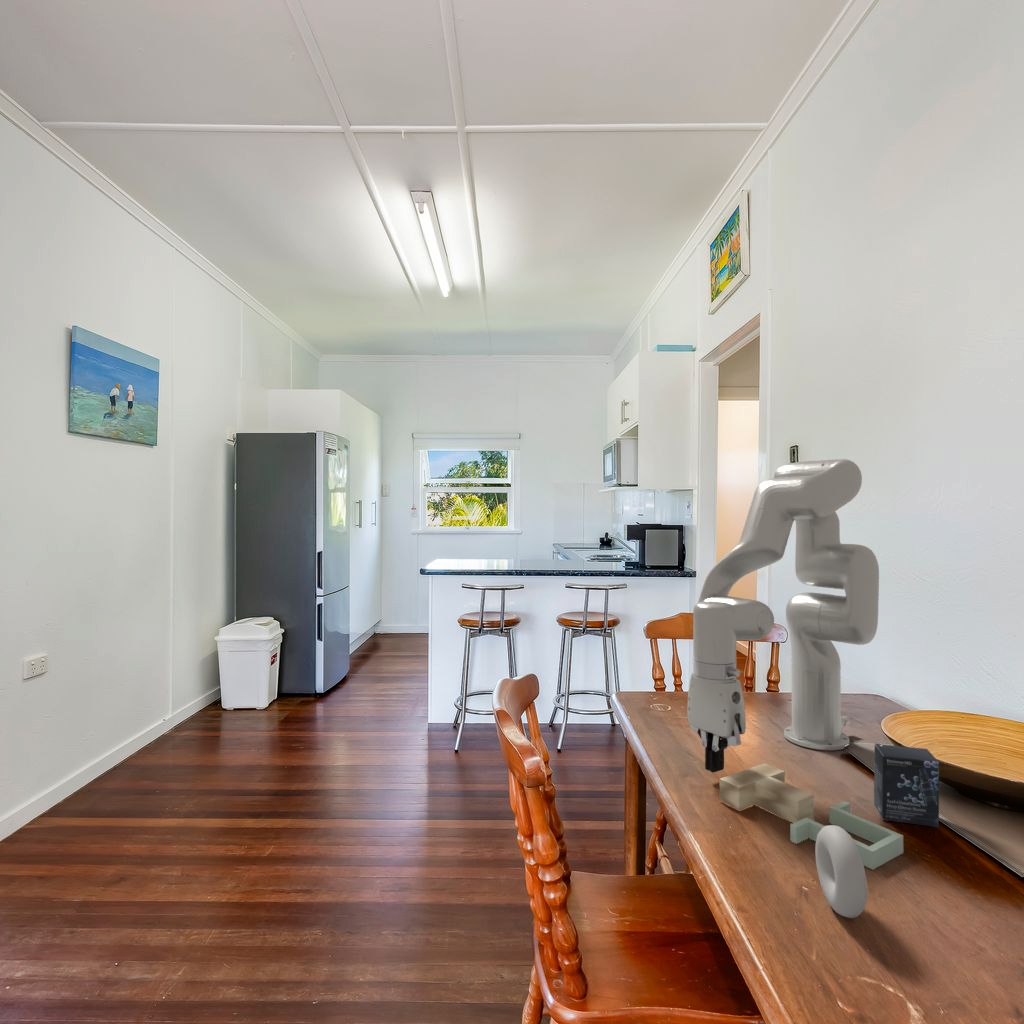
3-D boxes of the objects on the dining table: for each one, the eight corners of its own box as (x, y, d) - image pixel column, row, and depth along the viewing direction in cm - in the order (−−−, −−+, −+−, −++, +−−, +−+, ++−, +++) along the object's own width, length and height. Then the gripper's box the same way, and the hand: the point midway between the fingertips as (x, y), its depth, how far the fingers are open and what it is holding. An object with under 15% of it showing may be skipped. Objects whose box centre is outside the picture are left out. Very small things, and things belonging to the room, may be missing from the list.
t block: (719, 802, 104) (719, 778, 104) (764, 785, 110) (764, 763, 110) (782, 833, 94) (782, 807, 94) (828, 813, 100) (828, 788, 100)
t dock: (844, 816, 99) (843, 801, 99) (914, 846, 90) (913, 829, 90) (790, 841, 92) (790, 824, 92) (860, 876, 83) (860, 858, 83)
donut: (811, 884, 81) (810, 809, 81) (838, 886, 81) (838, 810, 81) (841, 936, 71) (841, 851, 71) (873, 939, 71) (872, 853, 71)
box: (883, 821, 97) (882, 755, 97) (873, 805, 103) (873, 742, 103) (940, 829, 95) (940, 761, 95) (927, 811, 100) (927, 747, 100)
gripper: (762, 676, 108) (763, 780, 108) (697, 659, 121) (697, 752, 121) (734, 682, 104) (734, 790, 104) (669, 663, 117) (669, 759, 117)
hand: (714, 769), depth 112 cm, fingers closed
